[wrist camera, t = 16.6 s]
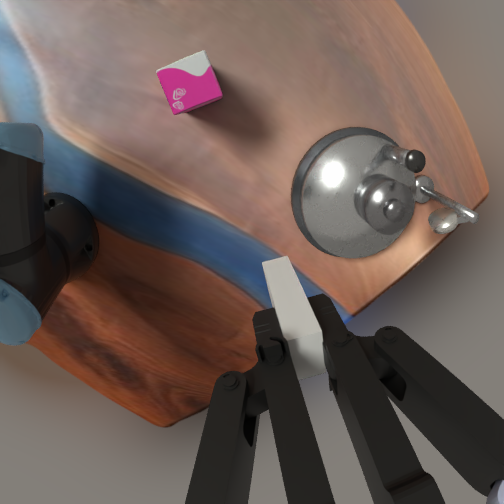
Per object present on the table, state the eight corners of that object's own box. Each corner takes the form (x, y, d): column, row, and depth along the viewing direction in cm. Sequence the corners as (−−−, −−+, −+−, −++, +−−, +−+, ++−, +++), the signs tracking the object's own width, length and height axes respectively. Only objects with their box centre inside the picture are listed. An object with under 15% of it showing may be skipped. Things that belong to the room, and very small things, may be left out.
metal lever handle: (396, 218, 50) (446, 257, 37) (387, 196, 48) (440, 230, 35) (433, 193, 49) (488, 223, 35) (426, 170, 47) (484, 196, 33)
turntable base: (328, 276, 54) (330, 279, 53) (263, 173, 45) (265, 174, 44) (423, 213, 51) (427, 215, 50) (380, 104, 41) (383, 104, 40)
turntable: (278, 230, 48) (293, 260, 39) (332, 111, 40) (362, 113, 31) (375, 266, 53) (401, 296, 44) (426, 168, 45) (462, 184, 37)
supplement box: (169, 78, 37) (154, 68, 27) (209, 63, 36) (207, 47, 26) (183, 114, 39) (173, 115, 29) (223, 98, 39) (226, 94, 29)
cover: (345, 211, 45) (362, 227, 40) (368, 165, 42) (388, 174, 37) (383, 229, 47) (402, 245, 42) (405, 186, 44) (427, 198, 39)
